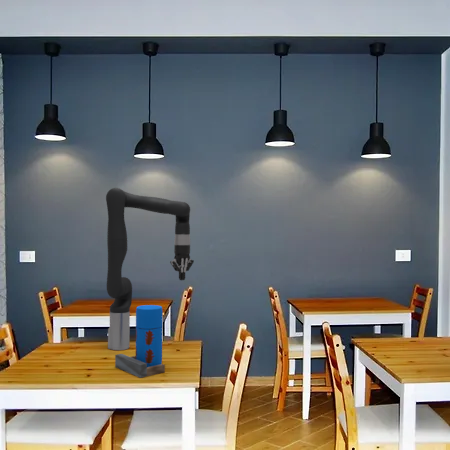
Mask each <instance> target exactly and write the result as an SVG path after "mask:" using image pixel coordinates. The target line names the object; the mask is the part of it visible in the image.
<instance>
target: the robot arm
mask: <svg viewBox="0 0 450 450" xmlns="http://www.w3.org/2000/svg"><path fill="white" fill-rule="evenodd" d="M105 201H106V207H107V208H106V209H107V219H108V220H107V233H106V235H107V238H106V239H107V240H106V242H107V273H106V274H107V276H106V292H107V294H108V296H109V297H110V298H112V299H114V301H113V302H112V303H111V305H110V306H109V328H107V349H108V350H114V351H123V350H125V351H126V350H128V349H130V335H131V334H130V330H131V329H130V328H131V327H130V324H131V323H130V321H131V320H130V316H131V312H130V311H131V309H130V308H131V306H132V301H133V284H132V282H131V280H130V279H129V277H126V276H123V275H122V268H123V265H124V261H125V258H126V256H127V253H128V234H127V233H128V232H127V227H126V221H125V208H130V209H133V208H134V209H139V210H144V211H147V212H153V213H157V214H165V215H166V214H167V215H172V216H175V226H174V241H173V242H174V250H173V251H174V258H173V259H172V260H171V261H170V262H169V263H170V265H171V266H172V268H173V269H174V271H175V272H178V280H179V281H185V279H186V273H187V272H188V271H189V270H190V269H191V268H192V266H193V264H194V260H193V259H191V256H190V254H191V235H190V233H191V228H190V227H191V226H190V216H191V215H190V213H191V207H190V204H189V203H187V202H185V201H178V200H170V199H167V198H162V197H156V196H155V197H154V196H148V195H147V196H146V195H144V196H143V195H138V194H134V193H130V192H128V191H125V190H122V189H121V188H119V187H112V188H110V189H109V190H108V191H107V193H106V194H105Z"/></svg>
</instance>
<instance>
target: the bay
mask: <svg viewBox="0 0 450 450" xmlns="http://www.w3.org/2000/svg"><path fill="white" fill-rule="evenodd" d="M114 357H115V358H114V360H115V361H114V365H115V366H114V367H115V368H116V369H119V370H121V371H123V372H126V373H128V374H131V375H133V376H135V377H137V378H138V379H139V378H145V377H149V376H154V375H159V374H163V373H166V372H165V370H166V368H165V364H164V363H162V364H160V365H156V366H151V367H147V364H146V363H144V362H141V361H139V360H136V355H133V356H129V355H126V354H124V353H118V354H115V355H114Z"/></svg>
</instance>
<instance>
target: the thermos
mask: <svg viewBox="0 0 450 450" xmlns="http://www.w3.org/2000/svg"><path fill="white" fill-rule="evenodd" d="M163 313H164V312H163V306H161V305H157V304H156V305H155V304H149V305H148V304H145V305H138V306H137V307H136V309H135V356H136V360H139V361H141V362H144V363H146V364H147V367H151V366H156V365H160V364H163V363H162V362H163V315H164V314H163Z"/></svg>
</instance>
